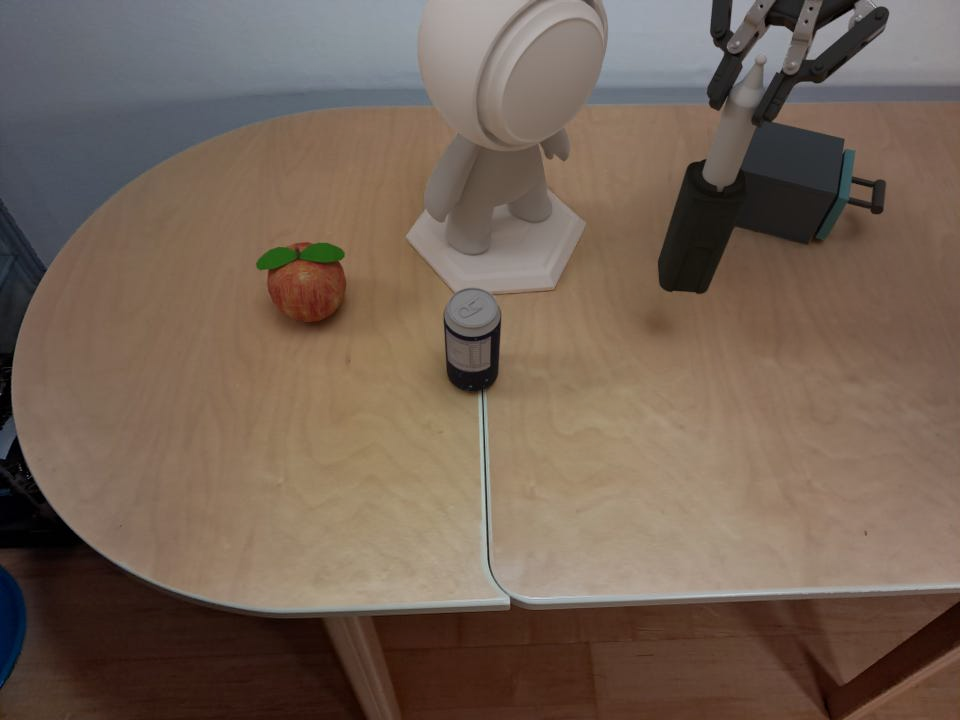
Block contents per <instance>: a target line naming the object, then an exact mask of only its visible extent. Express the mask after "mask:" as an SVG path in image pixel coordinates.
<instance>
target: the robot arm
mask: <svg viewBox="0 0 960 720" xmlns="http://www.w3.org/2000/svg"><path fill="white" fill-rule="evenodd" d="M733 1H734V0H712V2H711V14H710V26H709V33H710V36H711V38H712V42H713V45H714V46H715V47H716V48H717V49H720V50H721V51H722V52H723V56H722V58H721V60H720V62H719V64H718V66H717V68H716V70H715V72H714V73H713V75H712V77H711V80H709V83H708V85H707V89H706V95H707V97H708V99H709V101H708V105H709V107H710V109H713V110H715V111H718V112H719V111H720V110H722V108H723V107H724V105H725V103H726V100H727V97H728V94H729V92H730V90H731V88H732V87H733V86H735V84H736V81H737V79H738V78H739V76H740V74H741V72H742V70H743V69H744V66H743V61H744V60H745V59H746V57H747V56H748V55H749V54H750V52H751V51H752V49H753V48H754V47H755V46H756V44H757V42H758V41H760V40H761V39H762V38H763V37H764V36H765V34H766V33H767V31H768V30H769V29H770V28H771V26H774V27H784V28H786V29H787V30H789V31H790V32H792V36H791V41H790V44H789V47H788V49H787V52H786V55H785V57H784V60H783V64H782V68H781V70H780V71H779V72H778V71H776V72H775V73H774V75H773V77H772V79H771V81H770V83H769V85H768V86H767V89H765V91H766V92H765V94H764V96H763V98H762V99H761V101H760V103H759V105H758V107H757V109H756V110H755V112H754V114H753V116H752V119H751V122H752V125H755V126H757V127H760V128H761V127H762V125H763V124H764V122H765V121H767V122H769V123H771V122H774V121H775V120H776V119H777V117H778V115H779V114H780V111H781V110H782V108H783V106H784V105H785V103H786V101H787V100H788V97H789V96H790V94H791V92H792V90H793V89H794V87H795V86H796V85H798V84H800V83H807V82H808V83H813V84H815V85H816V84H817V85H818V84H822V83H823V82H825V81H826V80H827V79H828V78H830V77H832V75H833V74H835V73H836V72H837V71H838V70H840V69H841V68H842V67H843V66H844V65H846V64H847V63H848V62H849V61H850V60H852V59H853V57H855V56H856V55H857V54H859V53H860V52H861V51H862V50H864V49H865V47H867V46H868V45H869V44H871V42H873V41H874V40H875V39H876V38H878V37H879V36H880V35H881V34H883V32H884V31H885V30H886V26H887V24H888V21H889V17H890V10H889V8H887V7H886V6H884V5H883V6H882V5H880V6H877V5H876V4H875V3H874V2H873V0H755V1H754V3H752V5H751V7H750V8H749V10H748V11H747V12H746V14H745V16H744V18H743V20H742V21H741V22H742V23H741V24H740V25H739V26H738V28H737V30H736V31H735V32H734V31H732V30H731V24H732V13H733V3H734V2H733ZM851 11H853V12H854V13H853V15H852V16H851V17H850V19H849V21H848V25H847V31H846V32H845V33H844V34H843V35H842V36H840V37H839V38H838V39H836V41H835V42H833V43H832V44H831V45H830V46H829V47H827V49H825V50H824V51H823V52H822V53H820V54H819V55H818V56H817V57H816V58H814V59H807V58H808V56H809V54H810V51H811V49H812V46H813V44H814V40H815V38H816V34H817V33H818V31H819V30H821V29H822V28H824V27H826V26H827V25H830V24H831V23H832V22H834V21H836V20H837V19H839V18H840V17H842V16H844V15H845V14H847V13H849V12H851Z"/></svg>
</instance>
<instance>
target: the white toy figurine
mask: <svg viewBox="0 0 960 720" xmlns="http://www.w3.org/2000/svg"><path fill="white" fill-rule="evenodd" d="M420 17H421V18H420V21H419V25H418V32H417V44H416V45H417V49H416V50H417V61H418V68H419V74H420V77H421V81H422V85H423V86H424V90H425V92H426V93H427V96H428V98H429V101H430V102H431V104H432V106H433V107H434V108H435V110H436V111H437V113H438V114H439V116H440V117H441V118H442V119H443V121H444V122H445V123H446V124H448V126H449V127H451V128H452V129H453V130H454V131H455V132H456V133H457V134H456V136H455V137H454V138H452V141H450V143H449V144H448V146H447V147H446V148H445V150H444V151H443V153H442V155H441V156H440V158H439V159H438V161H437V162H436V164H435V166H434V168H433V170H432V171H431V174H430V175H429V178H428V180H427V183H426V186H425V190H424V195H423V196H424V197H423V203H424V210H423V211H422V212H421V214H419V216H418V218H417V220H416V221H415V222H414V224H413V225H412V226H411V228H410V229H409V231H408V232H407V234H406V236H405V239H406V241H407V242H408V243H409V244H410V245H411V246H412V248H413V249H415V251H416V252H417V253H418V254H419V255H420V256H421V258H422V259H423V260H424V261H425V262H426V263H427V264H428V265H429V266H430V268H431V269H432V270H433V271H434V272H435V273H436V274H437V275H438V276H439V278H440V279H441V280H442V281H443V282H444V283H445V284H446V285H447V286H448V288H449V289H450V290H451V291H452V292H453V294H454V293H456V292H457V291H459V290H461V289H465V288H480V289H483V290H486V291H488V292H489V293H490V294H492V295H493V296H494V295H505V294H519V293H520V294H521V293H534V292H545V291H546V292H547V291H554V290H555V289H556V286H557V284H558V283H559V281H560V278H561V276H562V275H563V273H564V270H566V267H567V265H568V263H569V261H570V259H571V257H572V255H573V253H574V251H575V249H576V247H577V245H578V243H579V241H580V239H581V237H582V236H583V233H584V232H585V229H586V227H587V222H585V221H584V220H583V219H582V218H581V217H580V216H578V214H576V212H574V211H573V210H572V209H571V208H570V207H569V206H568V205H567V204H565V203H564V202H563V201H562V200H561V199H560V198H558V196H557V195H556V194H554V193H553V192H552V191H551V190H550V188H548V187H547V178H546V174H545V167H544V163H543V158H542V154H541V150H540V147H541V148H542V150H543V153H544V156H545V158H546V160H548V161H549V160H550V161H551V160H553V159H554V156H555V157H557V158H558V159H559V160H560V161H562V162H566V161H567V160H568V158H569V157H570V149H571V145H570V144H571V143H570V139H569V136H568V133H567V131H566V129H565V127H566V126H567V125H568V124H570V122H571V121H572V120H574V118H575V117H576V116H577V115H578V114H579V113H580V111H581V110H582V109H583V108H584V106H585V105H586V103H587V102H588V100H589V99H590V97H591V95H592V93H593V91H594V89H595V87H596V85H597V82H598V80H599V77H600V75H601V73H602V67H603V63H604V59H605V56H606V53H607V47H608V39H609V22H608V17H607V12H606V8H605V5H604V2H603V0H427V1H426V3H425V5H424V8H423V10H422V13H421V16H420Z"/></svg>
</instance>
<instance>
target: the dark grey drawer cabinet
mask: <svg viewBox="0 0 960 720" xmlns="http://www.w3.org/2000/svg"><path fill="white" fill-rule="evenodd" d="M845 141H846V140H845V138H843V137H839V136H834V135H831V134H826V133H822V132H818V131H813V130H809V129H804V128H801V127H795V126H793V125H787V124H783V123H779V122H775V121H772V122H771V123H769V122H767V121H765V122H764V124H763V125H762V127H761V128H760V127H757V126H756V128H755V131H754V134H753V136H752V139H751V141H750V144H749V146H748V149H747V151H746V154H745V156H744V159H743V162H742V164H741V167H740V168H741V169H742V170H743V172H744V175H745V184H746V190H747V198H746V200H745V203H744V205H743V208H742V210H741V212H740V215H739V217H738V219H737V222H736V224H735V227H739V228H743V229H746V230H749V231H750V230H751V231H753V232H758V233H762V234H766V235H769V236H773V237H776V238H780V239H783V240H788V241H791V242H796V243H800V244H804V245H807V246H808V245H809V244H810V241H811V240H812V238H813V236H814V234H816V231H817V228H818V226H819V224H820V222H821V221H822V219H823V217H824V215H825V214H826V212H827V210H828V208H829V207H830V205H831V203H832V201H833V199H834V198H835V196H836V194H837V189H838V182H839V175H840V168H841V162H842V155H843V153H844V147H845Z"/></svg>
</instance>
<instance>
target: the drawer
mask: <svg viewBox="0 0 960 720" xmlns="http://www.w3.org/2000/svg"><path fill="white" fill-rule="evenodd" d="M855 157H856V150H854V149H849V148H845V149H844V150H843V155H842V162H841V168H840V175H839V182H838V189H837V194H836V196H835V198H834V199H833V201H832V203H831V205H830V207H829V208H828V210H827V212H826V214H825V215H824V217H823V219H822V221H821V222H820V224H819V226H818V228H817V229H816V231H815V239H818V240H822V241H826V240H827V238H828V236H829V234H830V233H831V231H832V230H833V227H835V224H836V222H837V221H838V219H839V218H840V216H841V214H842V212H843V210H844V209H845V208H846V205H851V206H855V207H860V208H862V209H863V208H864V209H867V210H870V213H871V214H872V215H881V214H882V213H883V212H884V210H885V199H886V188H887V182H886V181H885V180H884V179H880V178H879V179H876V180H869V179H865V178H861V177H857V176H854V175H853V173H854V165H855ZM852 184H854V185H858V186H863V187H866V188H870V189H871V190H872V192H871V199H870V201H867V200H864V199H859V198H855V197H852V196H850V195H851V186H852Z"/></svg>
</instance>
